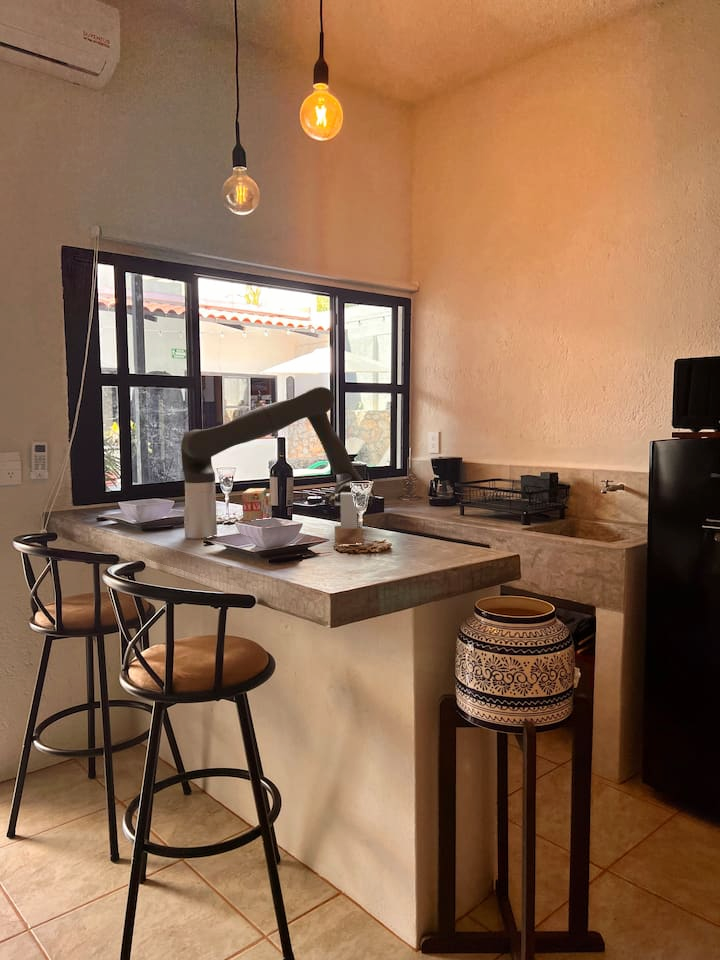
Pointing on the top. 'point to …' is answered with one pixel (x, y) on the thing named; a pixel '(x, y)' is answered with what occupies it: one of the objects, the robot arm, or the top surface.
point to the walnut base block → (348, 535)
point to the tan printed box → (256, 504)
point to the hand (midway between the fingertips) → (347, 502)
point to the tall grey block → (348, 511)
